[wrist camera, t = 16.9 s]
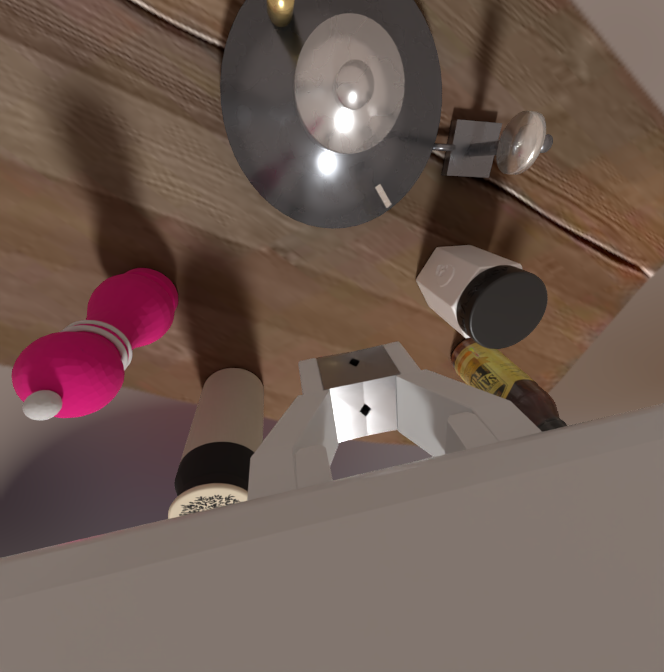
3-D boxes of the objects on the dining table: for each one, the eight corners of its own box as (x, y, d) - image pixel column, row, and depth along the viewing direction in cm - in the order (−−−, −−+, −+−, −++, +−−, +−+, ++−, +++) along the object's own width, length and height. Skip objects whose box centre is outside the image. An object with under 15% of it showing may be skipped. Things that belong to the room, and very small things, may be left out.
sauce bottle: (449, 339, 46) (559, 443, 28) (490, 331, 46) (622, 429, 29) (447, 376, 49) (544, 490, 32) (485, 368, 50) (601, 476, 32)
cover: (344, 176, 31) (355, 177, 27) (270, 96, 27) (271, 84, 24) (411, 96, 29) (433, 84, 25) (342, -3, 25) (356, -35, 21)
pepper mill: (98, 273, 34) (-84, 385, 16) (164, 254, 34) (53, 344, 17) (134, 331, 37) (16, 473, 20) (194, 313, 38) (129, 438, 20)
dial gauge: (421, 174, 35) (483, 176, 25) (429, 119, 33) (502, 96, 22) (482, 177, 36) (566, 180, 26) (494, 124, 34) (592, 106, 24)
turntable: (463, 146, 34) (491, 143, 29) (311, 261, 37) (317, 274, 32) (364, -104, 24) (385, -162, 20) (172, 77, 27) (153, 60, 23)
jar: (445, 229, 38) (511, 252, 28) (492, 258, 41) (568, 289, 31) (404, 293, 41) (449, 336, 31) (450, 317, 44) (506, 363, 34)
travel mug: (206, 362, 41) (166, 483, 25) (268, 370, 43) (267, 486, 27) (200, 411, 44) (162, 545, 28) (259, 416, 46) (253, 543, 31)
